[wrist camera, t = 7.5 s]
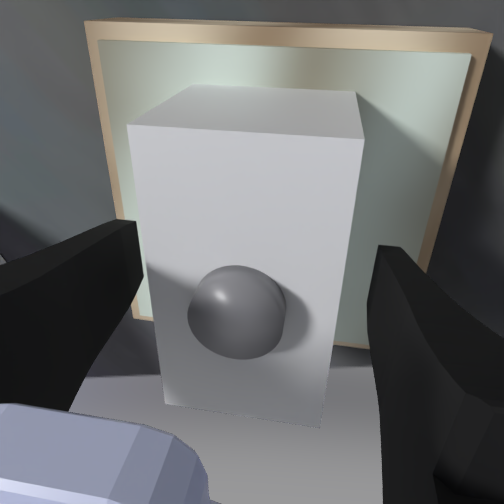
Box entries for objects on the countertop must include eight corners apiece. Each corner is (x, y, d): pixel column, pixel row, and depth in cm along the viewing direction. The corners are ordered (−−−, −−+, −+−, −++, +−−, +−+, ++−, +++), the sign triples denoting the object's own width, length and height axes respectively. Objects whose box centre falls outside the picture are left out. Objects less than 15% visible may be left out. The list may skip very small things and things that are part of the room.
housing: (323, 322, 17) (319, 452, 12) (205, 308, 18) (156, 425, 13) (354, 91, 13) (367, 151, 8) (193, 84, 13) (110, 134, 8)
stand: (469, 28, 14) (497, 34, 11) (396, 315, 20) (404, 358, 18) (118, 17, 15) (79, 21, 13) (153, 286, 22) (130, 322, 19)
